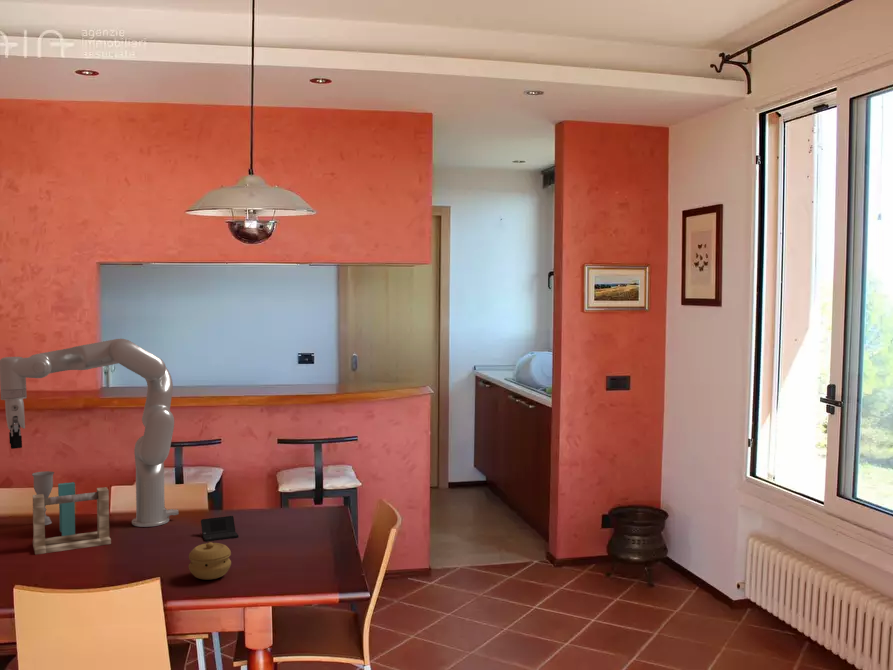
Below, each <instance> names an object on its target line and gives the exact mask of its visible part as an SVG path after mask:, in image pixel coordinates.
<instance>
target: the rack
mask: <svg viewBox="0 0 893 670" xmlns="http://www.w3.org/2000/svg"><path fill="white" fill-rule="evenodd" d="M109 492H110V491H109V488H108V487H106V486H105V487H96V492H95V491H94V492H87V493H86V492H85V493H78V494H76V493H75V495H66V496H49V497H48V498H44V495H43V494H38V495H37V494H32V532H33V533H32V535H33V537H32V538H33V539H32V547H33V551H34V554H35V555H36V556H37V555H43V554H49V553H55V552H56V553H57V552H62V551H70V550H75V549H76V550H78V549H85V548H92V547H100V546H104V545H111V544H112V538H111V537H110V496H109V495H110V493H109ZM94 500H96V522H97V529H96V531H90V532H84V533H75V534H74V535H67V536H62V535H61V536H60V535H59V536H53V537H46V529H45V527H46V525H45V514H46V512H45V513H44V505H46V506H50V505H52V506H53V505H59V504H62V503H71V502H75V503H76V502H78V503H79V502H87V501H94Z"/></svg>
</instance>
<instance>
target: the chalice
mask: <svg viewBox="0 0 893 670" xmlns="http://www.w3.org/2000/svg"><path fill="white" fill-rule="evenodd" d="M54 474H55V472H54V471H49V470H48V471H36V472H33V473H32V474H31V475H32V478H33V489H34V492H35V495H38V494H43V495H44V498H48V497H50V496H51V493H52V489H53V487H54ZM46 506H47V505H44V513H45V526H47V525H51V524H53V522H52V520H51V517H50V516H48V515H47V514H46V512H47V507H46Z"/></svg>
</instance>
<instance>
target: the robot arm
mask: <svg viewBox="0 0 893 670" xmlns="http://www.w3.org/2000/svg"><path fill="white" fill-rule="evenodd" d="M117 364H119V365H120V366H122V367H124V368H126V369H128V370H129V371H131V372H133V373H134V374H136V375H138V376H140V377H141V378H143V379H144V380H145V382H146V387H147V389H146V390H147V393H146V397H145V403H144V407H143V408H144V409H143V412H142V417H141V421H142V425H143V426H144V432H143V435H142V436H140V437H139V438H138V439H137V440H136V442H135V445H134V448H133V450H134V451H133V452H134V453H133V454H134V463H135V497H136V498H135V501H136V503H135V504H136V508H135V509H136V510H135V511H136V513H135V514H136V515H135V516H136V517H134V518H133V519H132V520H131V525H132V526H134V527H141V528H143V527H144V528H148V527H150V528H151V527H157V526H161V525H165V524H168V522H170V516H178V515H179V509H178V508H177V509H176V508H175V509H174V508H171V509H167V508H166V507H165V505H166V504H165V501H166V500H165V461H166V460H167V458H168V456H169V454H170V450H171V445H172V440H173V439H172V438H173V435H174V430H175V417H174V414H173V412H171V403H172V397H173V388H174V384H173V378H172V375H171V373H170V371H169V369H168V367H166V363H165V362H164V360H163V359H162V358H161V357H159V356H157V355H155V354H153V353H151V352H150V351H148V350H146V349H144V348H143V347H140V346H139V345H137V344H136V343H134V342H133V341H131V340H129V339H125V338H115V339H110V340H105V341H104V340H103V341H98V342H94V343H93V342H91V343H87V344H83V345H78V346H73V347H69V348H63V349H58V350H57V349H56V350H51V351H45V352H40V353H36V354H32V355H30V356H28V357H23V356H5V357H1V358H0V400H1V401H4V406H5V407H4V408H5V409H4V410H5V419H6V424H7V428H8V430H9V433H8V435H9V436H8V437H9V445H10V448H11V449H12V450H14V449H21V448H23V438H22V436H23V435H22V432H21V429H26V420H25V418H26V417H25V403H24V399H27V396H28V395H27V378H28V379H43V378H45V377H47V376H48V375H50V374H54V373H59V372H66V371H87V370H92V369H93V370H94V369H97V368H101V367H106V366H111V365H117Z"/></svg>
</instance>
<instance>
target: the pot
mask: <svg viewBox="0 0 893 670" xmlns="http://www.w3.org/2000/svg"><path fill="white" fill-rule="evenodd" d="M230 556H232V552H231V549H230V548H229V547H228V546H227V545H226V544H224V543H219V542H213V541H208V542H206V543H202V544H198V545H197V546H195V547H193V549H191V551H190V552H189V554H188V559H189V560H190V563H189V564H188V569H189V571H190V573H191V575H192V576H193V577H195V578H196V579H200V580H205V581H206V580H207V581H208V580H216V579H219V578H222V577H223V576H224V575H226V574H227V573H228V571H229V570H230V568H231V566H232V560H231V558H230Z"/></svg>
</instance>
